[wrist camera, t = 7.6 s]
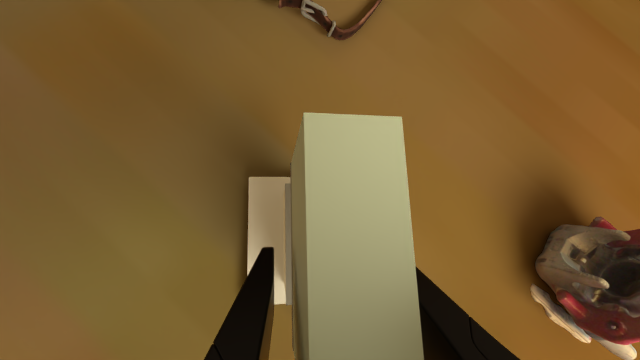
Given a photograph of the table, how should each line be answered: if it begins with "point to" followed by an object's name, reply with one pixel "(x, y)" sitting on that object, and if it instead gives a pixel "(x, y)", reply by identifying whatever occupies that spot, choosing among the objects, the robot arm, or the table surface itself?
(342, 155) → the pale green block
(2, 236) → the table surface
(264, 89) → the table surface
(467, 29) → the table surface
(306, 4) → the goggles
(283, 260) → the cream stepped block
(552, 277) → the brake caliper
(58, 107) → the table surface
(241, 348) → the robot arm
